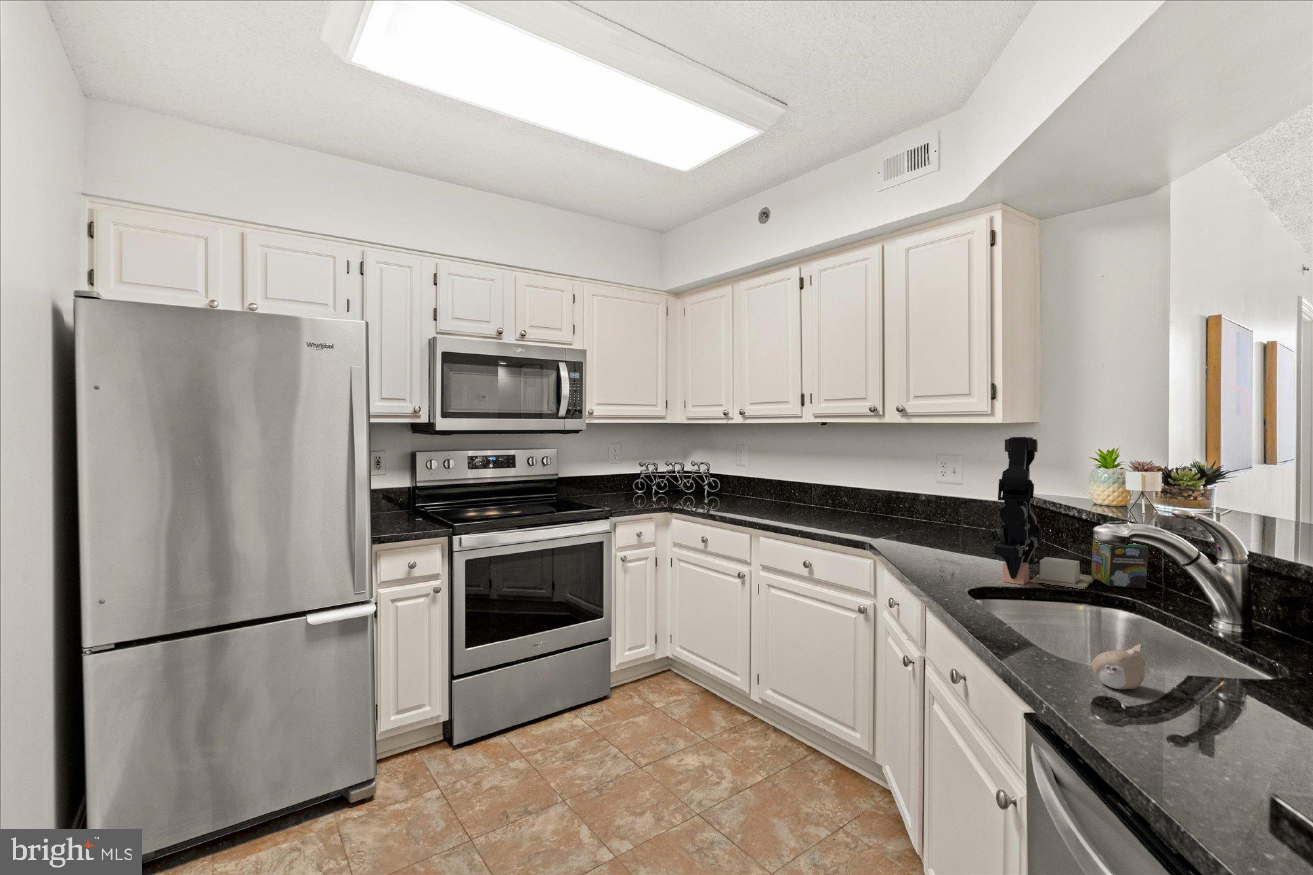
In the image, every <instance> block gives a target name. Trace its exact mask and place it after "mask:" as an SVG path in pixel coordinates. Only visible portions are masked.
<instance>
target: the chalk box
mask: <svg viewBox="0 0 1313 875" xmlns="http://www.w3.org/2000/svg"><path fill="white" fill-rule="evenodd" d="M1145 545H1146V544H1145ZM1145 545H1141V544H1136V543H1133V544H1128V545H1124V546H1121V547H1116V546H1107V545H1100V544H1098V543H1096V542H1095V541H1094V537H1092V553H1091V575H1090V576H1091V577H1093V578H1095V580H1098V581H1099V582H1101V583H1103V584H1105V585H1107V587H1120V588H1121V587H1122V588H1123V587H1124V588H1134V589H1135V588H1136V589H1146V588H1147V574H1148V573H1147V572H1148V561H1149V560H1148V558H1149V547H1148V546H1149V545H1148V546H1145Z"/></svg>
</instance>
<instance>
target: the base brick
mask: <svg viewBox="0 0 1313 875" xmlns="http://www.w3.org/2000/svg"><path fill="white" fill-rule="evenodd" d="M1080 567H1081V566H1080V560H1072V559H1067V558H1066V559H1065V558H1058V557H1056V558H1055V557H1048V556H1044V557H1043V558H1042V559H1040V560H1039V574H1040V579H1047V580H1054V581H1060V582H1067V583H1074V584H1075V583H1076V582H1077V581H1078V580H1079V579H1080V574H1081V573H1080V572H1081V570H1080V569H1081V568H1080Z"/></svg>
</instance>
